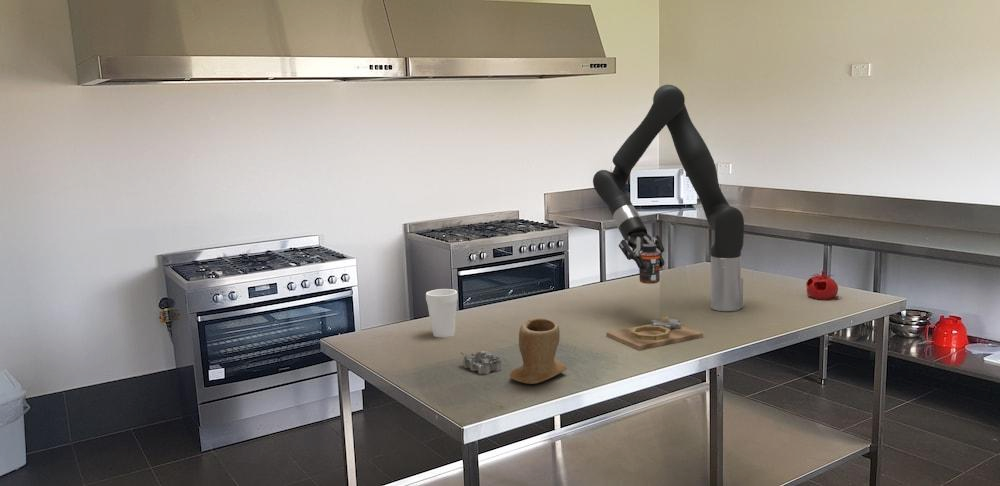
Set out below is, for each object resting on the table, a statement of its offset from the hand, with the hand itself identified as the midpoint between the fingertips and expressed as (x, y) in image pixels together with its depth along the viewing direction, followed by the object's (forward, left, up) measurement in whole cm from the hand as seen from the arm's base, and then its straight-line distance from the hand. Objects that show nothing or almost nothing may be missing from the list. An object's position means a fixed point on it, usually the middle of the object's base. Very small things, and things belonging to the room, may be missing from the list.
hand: (653, 267), depth 231 cm
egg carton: (+59, +6, -19) cm, 63 cm away
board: (+6, +9, -18) cm, 21 cm away
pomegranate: (-67, +3, -18) cm, 69 cm away
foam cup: (+56, -28, -18) cm, 66 cm away
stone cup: (+50, +22, -18) cm, 58 cm away
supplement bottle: (0, -2, -5) cm, 5 cm away
